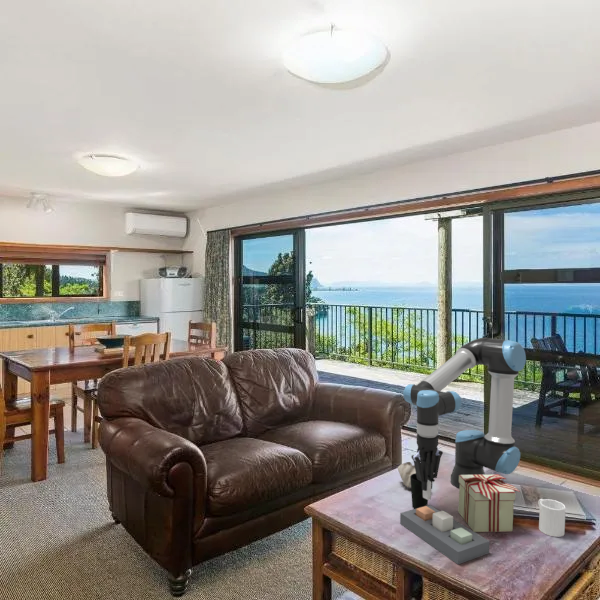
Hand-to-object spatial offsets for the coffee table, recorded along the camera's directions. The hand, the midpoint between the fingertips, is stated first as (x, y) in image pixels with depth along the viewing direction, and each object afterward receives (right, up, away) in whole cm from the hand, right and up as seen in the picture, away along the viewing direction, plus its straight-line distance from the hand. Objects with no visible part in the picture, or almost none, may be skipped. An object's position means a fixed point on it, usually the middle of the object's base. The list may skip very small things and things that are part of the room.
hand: (426, 498), depth 175 cm
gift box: (+23, -11, +2) cm, 26 cm away
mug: (+44, -11, 0) cm, 45 cm away
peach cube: (-1, -9, 0) cm, 9 cm away
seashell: (+3, -9, +32) cm, 33 cm away
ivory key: (+3, -8, -7) cm, 11 cm away
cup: (+1, -10, +15) cm, 17 cm away
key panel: (+3, -11, -7) cm, 13 cm away
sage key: (+7, -10, -15) cm, 19 cm away
